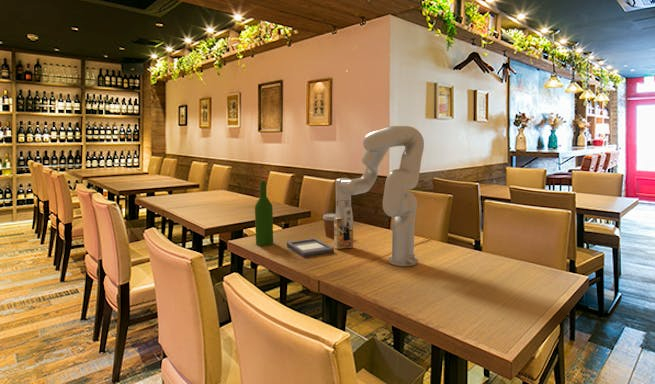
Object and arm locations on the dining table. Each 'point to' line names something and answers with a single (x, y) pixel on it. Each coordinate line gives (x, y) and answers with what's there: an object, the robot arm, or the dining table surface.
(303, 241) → the gray tray
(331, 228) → the disposable coffee cup
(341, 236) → the candy box
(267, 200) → the wine bottle
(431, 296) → the dining table surface
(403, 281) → the dining table surface
